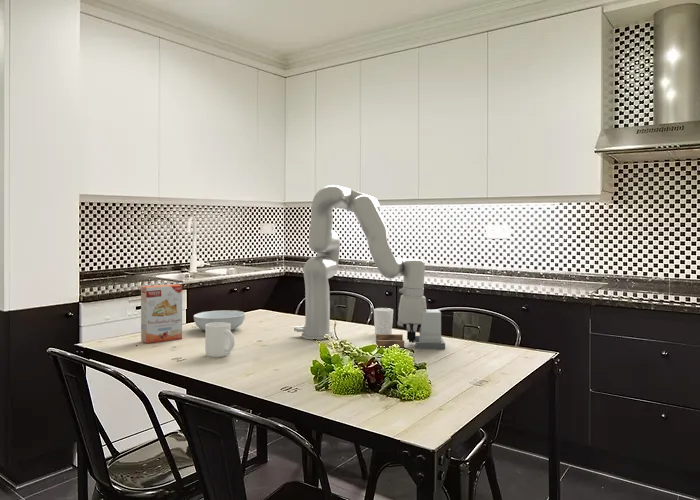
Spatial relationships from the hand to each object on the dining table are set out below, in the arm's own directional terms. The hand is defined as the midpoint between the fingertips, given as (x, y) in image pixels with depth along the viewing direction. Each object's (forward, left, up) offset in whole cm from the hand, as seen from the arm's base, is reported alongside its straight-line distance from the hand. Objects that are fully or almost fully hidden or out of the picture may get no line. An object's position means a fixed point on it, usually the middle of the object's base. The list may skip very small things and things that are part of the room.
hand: (411, 341), depth 199 cm
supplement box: (+7, 0, -1) cm, 7 cm away
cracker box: (-94, +1, -1) cm, 94 cm away
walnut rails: (-8, 0, -1) cm, 8 cm away
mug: (-65, -21, -1) cm, 68 cm away
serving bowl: (-78, +22, -1) cm, 81 cm away
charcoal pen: (+6, 0, -1) cm, 6 cm away
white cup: (-10, +19, -1) cm, 21 cm away
